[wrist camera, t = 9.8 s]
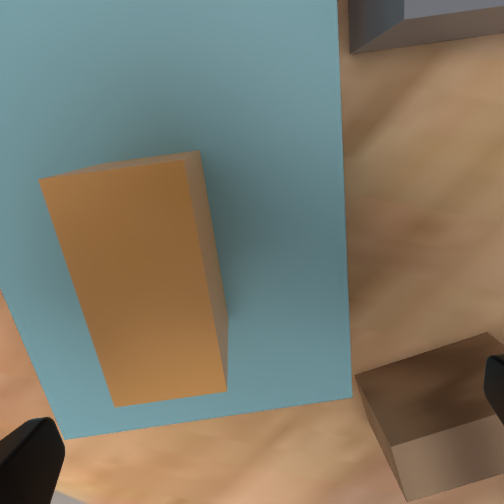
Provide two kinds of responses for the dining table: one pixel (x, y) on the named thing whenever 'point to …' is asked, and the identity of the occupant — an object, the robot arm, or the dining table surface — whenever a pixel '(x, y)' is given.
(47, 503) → the robot arm
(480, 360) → the walnut brick
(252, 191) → the teal board
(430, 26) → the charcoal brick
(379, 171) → the dining table surface
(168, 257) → the orange brick
